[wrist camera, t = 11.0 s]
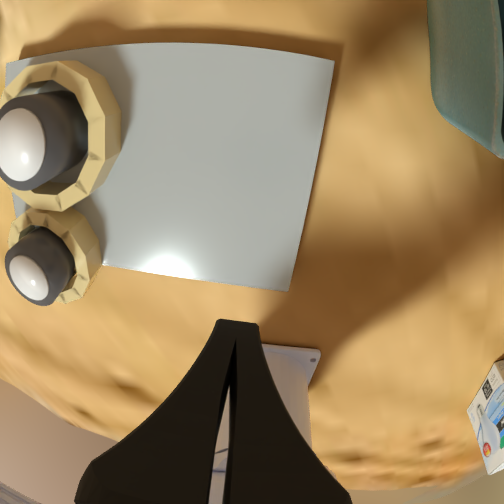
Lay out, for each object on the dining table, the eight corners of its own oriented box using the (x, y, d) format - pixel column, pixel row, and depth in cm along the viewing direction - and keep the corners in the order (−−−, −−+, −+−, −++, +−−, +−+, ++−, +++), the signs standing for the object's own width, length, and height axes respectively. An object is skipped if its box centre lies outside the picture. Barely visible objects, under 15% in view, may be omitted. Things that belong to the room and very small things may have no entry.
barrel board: (280, 308, 23) (282, 366, 18) (37, 268, 22) (2, 308, 18) (330, 62, 15) (356, 55, 10) (17, 62, 14) (-39, 70, 9)
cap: (97, 165, 17) (60, 187, 13) (35, 174, 17) (-3, 196, 13) (88, 82, 14) (47, 85, 11) (25, 100, 14) (-17, 110, 11)
